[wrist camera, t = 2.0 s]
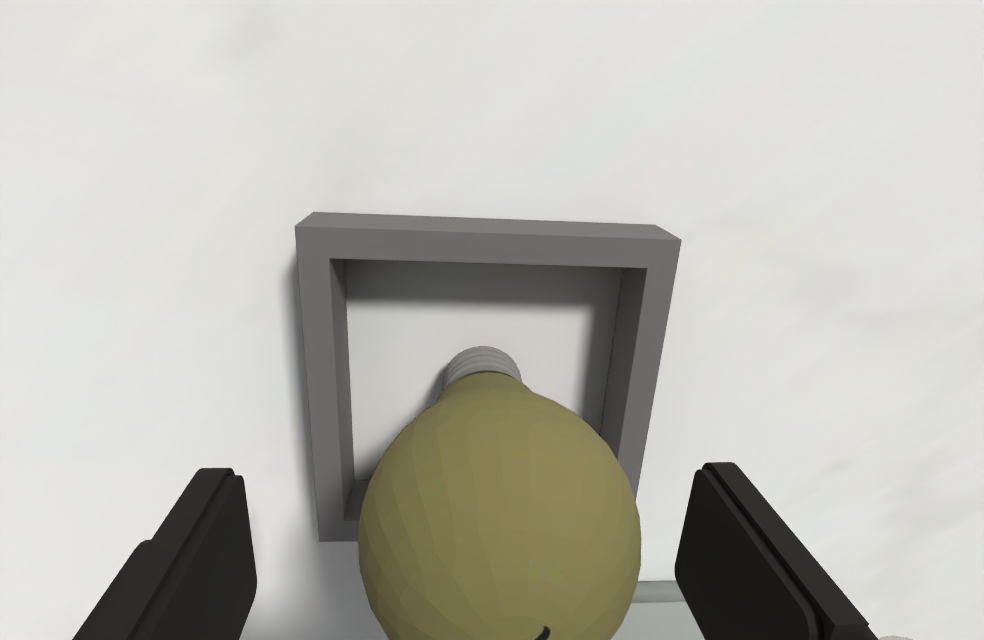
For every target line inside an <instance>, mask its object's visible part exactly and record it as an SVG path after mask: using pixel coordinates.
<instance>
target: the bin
mask: <svg viewBox="0 0 984 640" xmlns="http://www.w3.org/2000/svg"><path fill="white" fill-rule="evenodd" d="M611 640H705V639H704V637H703V635H702V633H701V631H700V629H699V627H698V625H697V623H696V621H695V619H694V617H693V615H692V613H691V611H690V609H689V607H688V605H687V603H686V601H685V598H684V596H683V594H682V592H681V590H680V588H679V586H678V584H677V582H676V581H637V585H636V589H635V592H634V595H633V598H632V601H631V605H630V607H629V610H628V612H627V614H626V616H625V618H624V620H623V623H622V625H621V626H620V628H619V629H618V630H617V632H616V633H615V635H614V636H613V637H612V639H611Z"/></svg>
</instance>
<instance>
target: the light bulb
mask: <svg viewBox="0 0 984 640" xmlns="http://www.w3.org/2000/svg"><path fill="white" fill-rule="evenodd" d="M358 541H359V565H360V572H361V576H362V579H363V583H364V586H365V590H366V593H367V596H368V600H369V603H370V607H371V609H372V611H373V613H374V614H375V616H376V618H377V619H378V621H379V623H380V625H381V626H382V628H383V630H384V631H385V633H386V635H387V636H388V638H389V640H611V639H612V637H613V636H614V635H615V633H616V632H617V630H618V629H619V628H620V626H621V625H622V623H623V620H624V618H625V616H626V614H627V612H628V610H629V607H630V605H631V601H632V598H633V595H634V592H635V589H636V585H637V581H638V576H639V571H640V566H641V528H640V518H639V514H638V510H637V506H636V502H635V499H634V496H633V492H632V489H631V486H630V483H629V481H628V478H627V476H626V474H625V473H624V471H623V469H622V467H621V466H620V464H619V462H618V461H617V459H616V457H615V456H614V454H613V452H612V451H611V449H610V447H609V446H608V444H607V443H606V442H605V441H604V440H603V439H602V438H601V437H600V436H599V435H598V434H597V433H596V432H595V431H594V430H593V428H592V427H591V426H590V425H588V424H587V423H586V422H585V421H584V420H582V419H581V418H580V417H579V416H578V415H576V414H575V413H574V412H573V411H571V410H569V409H567V408H566V407H564V406H562V405H560V404H558V403H557V402H555V401H553V400H551V399H548V398H546V397H543V396H541V395H538V394H536V393H533V392H532V391H531V390H530V389H529V388H528V387H527V386H526V385H524V384H523V383H522V379H521V375H520V373H519V370H518V367H517V365H516V363H515V362H514V361H513V360H512V358H511V357H509V356H508V355H507V354H506V353H504V352H502V351H500V350H498V349H496V348H493V347H488V346H479V347H473V348H470V349H467V350H464V351H463V352H461V353H459V354H458V355H457V356H455V357H454V358H453V359H452V360H451V362H450V363H449V364H448V366H447V368H446V370H445V373H444V376H443V393H442V395H441V396H440V397H439V398H438V400H437V402H436V404H435V405H433V406H432V407H430V408H428V409H427V410H425V411H424V412H423V413H422V414H420V415H419V416H418V417H417V418H415V419H414V420H413V421H412V422H411V423H410V424H409V425H408V426H406V427H405V428H404V429H403V430H402V431H401V432H400V434H399V435H398V436H397V437H396V439H395V440H394V441H393V442H392V444H391V445H390V446H389V447H388V449H387V450H386V452H385V454H384V455H383V457H382V458H381V460H380V462H379V464H378V466H377V468H376V470H375V472H374V474H373V476H372V478H371V480H370V482H369V485H368V488H367V491H366V495H365V498H364V501H363V504H362V509H361V515H360V520H359V535H358Z"/></svg>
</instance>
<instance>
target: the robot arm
mask: <svg viewBox="0 0 984 640" xmlns="http://www.w3.org/2000/svg"><path fill="white" fill-rule="evenodd" d="M675 578H676V582H677V584H678V586H679V588H680V590H681V592H682V594H683V596H684V598H685V601H686V603H687V605H688V607H689V609H690V611H691V613H692V615H693V617H694V619H695V621H696V623H697V625H698V627H699V629H700V631H701V633H702V635H703V637H704V639H705V640H912V639H909V638H905V637H898V636H887V637H881V638H880V639H878V638H877V637H876V636H875V635H874V634H873V632H872V631H871V630H870V629H869V627H868V625H869V623H868V622H867V621H866V620H865V618H864V617H863V616H862V615H861V614H860V612H859V611H858V610H857V609H856V608H855V606H854V605H853V604H852V603H851V602H850V600H849V599H848V598H847V597H846V596H845V594H844V593H843V592H842V591H841V590H840V588H839V587H838V586H837V585H836V584H835V582H834V581H833V580H832V579H831V578H830V576H829V575H828V574H827V573H826V572H825V570H824V569H823V568H822V567H821V566H820V564H819V563H818V562H817V561H816V560H815V558H814V557H813V556H812V555H811V554H810V552H809V551H808V550H807V549H806V548H805V546H804V545H803V544H802V543H801V542H800V540H799V539H798V538H797V537H796V536H795V534H794V533H793V532H792V531H791V530H790V528H789V527H788V526H787V525H786V524H785V522H784V521H783V520H782V519H781V518H780V516H779V515H778V514H777V513H776V512H775V510H774V509H773V508H772V507H771V506H770V504H769V503H768V502H767V501H766V500H765V498H764V497H763V496H762V495H761V494H760V492H759V491H758V490H757V489H756V487H755V486H754V485H753V484H752V483H751V481H750V480H749V479H748V478H747V477H746V475H745V474H744V473H743V472H742V471H741V469H740V468H739V467H738V466H737V465H736V464H735V463H732V462H715V463H705V464H704V465H703V467H702V470H697V471H696V472H695V475H694V479H693V484H692V489H691V493H690V498H689V502H688V507H687V512H686V516H685V521H684V525H683V530H682V535H681V539H680V544H679V548H678V553H677V558H676V562H675ZM256 588H257V575H256V568H255V560H254V553H253V545H252V538H251V530H250V523H249V515H248V508H247V500H246V493H245V485H244V479H243V477H242V476H241V475H235V474H234V471H233V469H231V468H201V469H199V470H198V471H197V472H196V474H195V475H194V477H193V478H192V480H191V481H190V483H189V484H188V486H187V487H186V489H185V490H184V492H183V493H182V495H181V496H180V497H179V499H178V500H177V502H176V503H175V505H174V506H173V508H172V509H171V511H170V512H169V514H168V515H167V517H166V518H165V520H164V521H163V523H162V524H161V526H160V527H159V529H158V530H157V532H156V533H155V535H154V536H153V538H152V539H151V540H145V541H143V542H141V543H140V544H139V545H138V546H137V547H136V549H135V550H134V551H133V553H132V554H131V555H130V557H129V558H128V560H127V561H126V563H125V564H124V566H123V567H122V568H121V570H120V571H119V573H118V574H117V576H116V577H115V579H114V580H113V582H112V583H111V584H110V586H109V587H108V589H107V590H106V592H105V593H104V595H103V596H102V597H101V599H100V600H99V602H98V603H97V605H96V606H95V608H94V609H93V610H92V612H91V613H90V615H89V616H88V618H87V619H86V621H85V622H84V623H83V625H82V626H81V628H80V629H79V631H78V632H77V634H76V635H75V636H74V638H73V639H72V640H239V638H240V635H241V633H242V630H243V627H244V625H245V622H246V619H247V617H248V614H249V612H250V609H251V606H252V604H253V601H254V598H255V594H256Z"/></svg>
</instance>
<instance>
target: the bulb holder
mask: <svg viewBox="0 0 984 640" xmlns="http://www.w3.org/2000/svg"><path fill="white" fill-rule="evenodd" d="M295 237H296V250H297V263H298V275H299V288H300V301H301V314H302V327H303V339H304V352H305V365H306V378H307V391H308V403H309V416H310V429H311V442H312V455H313V467H314V480H315V493H316V506H317V519H318V531H319V542H333V541H358V535H359V520H360V515H361V509H362V504H363V501H364V498H365V495H366V491H367V488H368V485H369V482H370V480H355V479H354V458H353V437H352V415H351V394H350V373H349V351H348V330H347V308H346V287H345V266H344V259H369V260H402V261H434V262H467V263H499V264H531V265H564V266H596V267H623V273H622V280H621V287H620V294H619V301H618V308H617V315H616V323H615V330H614V337H613V344H612V351H611V358H610V365H609V373H608V380H607V387H606V394H605V401H604V408H603V415H602V423H601V430H600V437H601V438H602V439H603V440H604V441H605V442H606V443H607V444H608V446H609V447H610V449H611V451H612V452H613V454H614V456H615V457H616V459H617V461H618V462H619V464H620V466H621V467H622V469H623V471H624V473H625V474H626V476H627V478H628V481H629V483H630V486H631V489H632V492H633V496H634V499H635V502H636V496H637V490H638V484H639V479H640V473H641V467H642V462H643V456H644V450H645V445H646V439H647V433H648V428H649V422H650V416H651V410H652V405H653V399H654V393H655V388H656V382H657V376H658V371H659V365H660V359H661V354H662V348H663V342H664V337H665V331H666V325H667V319H668V314H669V308H670V302H671V297H672V291H673V285H674V280H675V274H676V268H677V263H678V257H679V251H680V246H681V239H679V238H677V237H676V236H674V235H672V234H670V233H669V232H667V231H665V230H663V229H662V228H660V227H658V226H656V225H644V224H617V223H591V222H564V221H538V220H511V219H484V218H458V217H431V216H405V215H378V214H351V213H325V212H313V213H311V214H310V215H309V216H307V217H306V218H305V219H303V220H302V221H301V222H299V223H298V224H297V225H295Z"/></svg>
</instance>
